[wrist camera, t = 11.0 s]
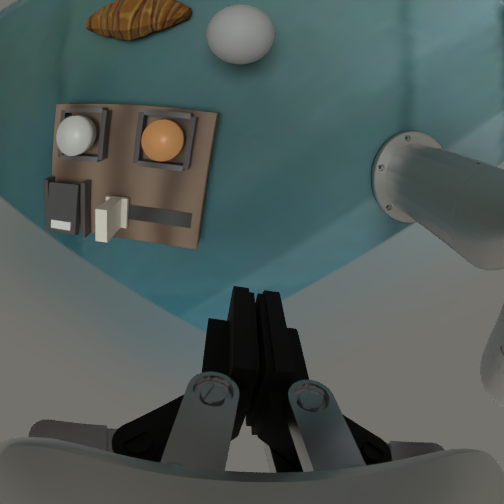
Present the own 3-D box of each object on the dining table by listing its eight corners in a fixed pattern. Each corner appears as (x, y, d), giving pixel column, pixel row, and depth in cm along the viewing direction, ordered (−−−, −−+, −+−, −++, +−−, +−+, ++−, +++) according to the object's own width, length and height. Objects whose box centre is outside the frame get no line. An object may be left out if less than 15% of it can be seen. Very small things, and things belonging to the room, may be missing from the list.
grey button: (98, 115, 27) (91, 116, 25) (94, 154, 29) (87, 157, 27) (66, 115, 27) (57, 116, 25) (63, 152, 28) (55, 155, 27)
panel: (218, 113, 32) (215, 113, 28) (199, 239, 39) (194, 255, 35) (68, 104, 30) (48, 104, 26) (63, 218, 37) (46, 231, 32)
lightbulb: (239, 85, 31) (239, 71, 21) (202, 52, 29) (187, 27, 19) (278, 52, 29) (294, 27, 19) (240, 19, 27) (241, -17, 17)
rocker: (82, 184, 31) (77, 185, 30) (78, 233, 33) (74, 235, 32) (53, 181, 31) (48, 182, 30) (50, 229, 32) (46, 230, 31)
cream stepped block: (129, 197, 33) (113, 211, 28) (127, 226, 34) (112, 243, 30) (107, 195, 32) (89, 208, 28) (107, 223, 34) (90, 239, 29)
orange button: (188, 121, 29) (185, 121, 28) (182, 161, 31) (179, 163, 30) (149, 117, 29) (144, 117, 27) (144, 156, 31) (139, 159, 29)
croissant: (87, 50, 28) (68, 44, 23) (95, 6, 25) (78, -5, 20) (189, 41, 28) (182, 30, 24) (196, -6, 26) (190, -22, 21)
